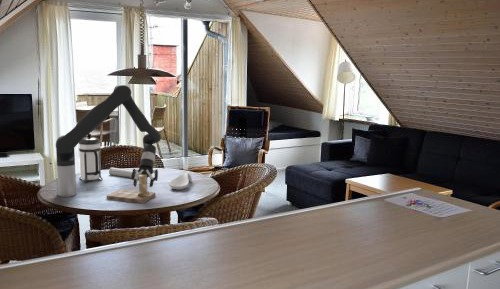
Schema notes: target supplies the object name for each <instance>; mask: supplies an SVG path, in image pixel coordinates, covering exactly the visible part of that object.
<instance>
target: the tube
mask: <svg viewBox="0 0 500 289" xmlns="http://www.w3.org/2000/svg"><path fill="white" fill-rule="evenodd" d="M132 172H133V170H130V169H122V168H117V167H113V166H111V167H109V169H108V174H109V175H110V176H116V175H117V176H118V177H124V178H131V175H132ZM137 174H138V172H137V173H136V174H135V177H136V176H137ZM131 179H132V178H131Z"/></svg>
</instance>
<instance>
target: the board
mask: <svg viewBox="0 0 500 289" xmlns="http://www.w3.org/2000/svg"><path fill="white" fill-rule="evenodd" d="M138 193H139V190H133V189H125V188H124V189H123V188H120V189H117V190H115V191H113V192H111V193H109V194H107V195H106V200H110V201H121V202H127V203H128V202H130V203H138V204H145V203H146V202H148V201H149V200H151V199H153V198H154V197H156V192H152V191H149V194H148V195H147V196H138Z"/></svg>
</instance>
